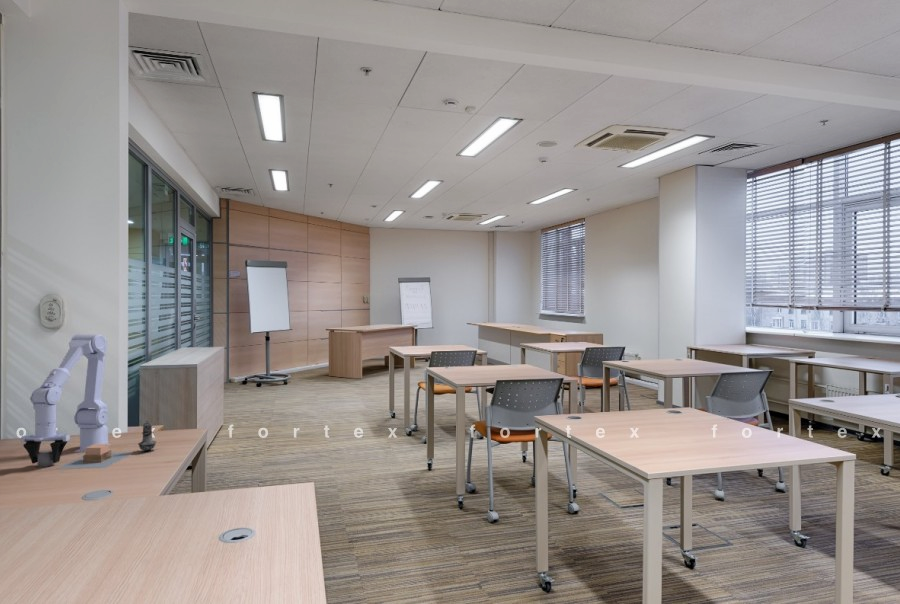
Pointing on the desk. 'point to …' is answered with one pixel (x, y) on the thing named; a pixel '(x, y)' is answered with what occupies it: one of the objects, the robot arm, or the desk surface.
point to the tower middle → (97, 449)
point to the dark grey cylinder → (45, 458)
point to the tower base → (96, 457)
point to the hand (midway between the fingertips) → (45, 462)
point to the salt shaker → (147, 439)
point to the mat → (79, 463)
